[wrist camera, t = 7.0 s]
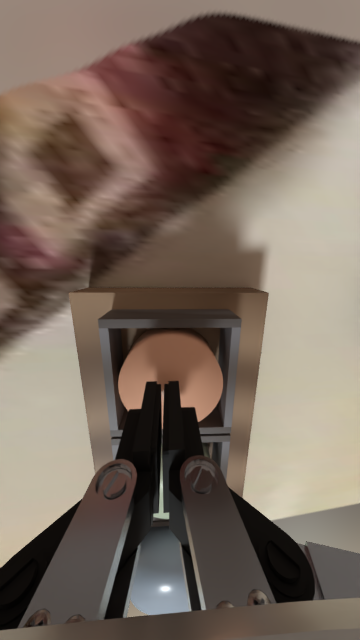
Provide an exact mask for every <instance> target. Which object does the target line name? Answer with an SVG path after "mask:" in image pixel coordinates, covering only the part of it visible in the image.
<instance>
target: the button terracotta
mask: <svg viewBox="0 0 360 640" xmlns="http://www.w3.org/2000/svg"><path fill="white" fill-rule="evenodd" d="M148 381H157V384H161V403H162V429H163V408H164V384H168V381H179V389H180V400H181V407H195V410H196V415H197V420H198V422H199V421H201V420H202V419H204V418H205V417H206V416H208V415H209V414H210V413H211V412H212V410H213V409H214V408H215V407H216V405H217V403H218V402H219V399H220V397H221V394H222V389H223V376H222V372H221V368H220V366H219V364H218V362H217V360H216V358H215V356H214V354H213V352H212V350H211V348H210V345H209V344H208V342H207V341H206V340H205V339H204V337H203V336H202V335H200V334H199V333H198V332H196V331H195V330H193V329H191V328H152V329H150V330H148V331H146V332H145V333H143V334H142V335H141V336H140V337H139V338H138V339H137V340H136V341H135V343H134V344H133V346H132V348H131V350H130V352H129V354H128V356H127V358H126V360H125V362H124V364H123V366H122V368H121V371H120V374H119V380H118V389H119V394H120V398H121V400H122V402H123V404H124V406H125V407H126V409H127V410H128V411H129V409H141V406H142V401H143V396H144V391H145V386H146V382H148Z"/></svg>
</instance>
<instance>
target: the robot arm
mask: <svg viewBox="0 0 360 640" xmlns="http://www.w3.org/2000/svg"><path fill="white" fill-rule="evenodd" d="M161 446H162V470H163V513H169V529H170V530H171V532H172V533H173V534H174V535H175V536H176V538H177V539H178V540H179V547H180V553H181V560H182V567H183V573H184V580H185V587H186V593H187V600H188V607H189V612H178V613H168V614H157V615H147V616H137V617H128V618H127V613H128V608H129V603H130V599H131V594H132V589H133V584H134V579H135V574H136V569H137V565H138V560H139V555H140V550H141V542H142V540H143V539H144V538H145V537H146V535H147V534H148V533H149V532H150V530H151V526H152V525H153V514H156V513H159V499H160V472H161ZM0 640H360V554H359V553H354V552H351V551H346V550H342V549H338V548H333V547H329V546H325V545H320V544H316V543H312V542H307V541H306V544H305V545H302V544H298V543H296V542H295V541H294V540H293V539H292V538H291V537H290V536H289V535H288V534H286V533H285V532H284V531H283V530H281V529H280V528H279V527H278V526H276V525H275V524H274V523H273V522H271V521H270V520H269V519H268V518H266V517H265V516H264V515H263V514H261V513H260V512H259V511H258V510H257V509H255V508H254V507H253V506H252V505H250V504H249V503H248V502H247V501H245V500H244V499H243V498H242V497H240V496H239V495H238V494H237V493H235V492H234V491H233V490H232V489H230V488H229V487H228V485H227V483H226V480H225V478H224V476H223V473H222V471H221V469H220V467H219V466H218V464H217V463H216V462H215V461H214V460H212V459H211V458H209V457H206V456H204V451H203V445H202V440H201V435H200V430H199V425H198V420H197V415H196V410H195V407H181V400H180V389H179V381H168V384H164V408H163V437H162V403H161V384H157V381H148V382H146V386H145V391H144V396H143V401H142V406H141V409H129V411H128V414H127V418H126V422H125V425H124V429H123V432H122V436H121V440H120V443H119V447H118V450H117V454H116V457H115V460H113V461H110V462H108V463H107V464H105V465H103V466H102V467H101V468H100V469H99V470H98V471H97V473H96V474H95V476H94V477H93V479H92V481H91V483H90V485H89V487H88V489H87V491H86V493H85V495H84V497H83V499H81V500H80V501H79V502H78V503H77V504H75V505H74V506H73V507H72V508H71V509H69V510H68V511H67V512H66V513H65V514H63V515H62V516H61V517H60V518H59V519H57V520H56V521H55V522H54V523H53V524H51V525H50V526H49V527H48V528H47V529H45V530H44V531H43V532H42V533H40V534H39V535H38V536H37V537H36V538H34V539H33V540H32V541H31V542H30V543H28V544H27V545H26V546H25V547H24V548H22V549H21V550H20V551H19V552H18V553H16V554H15V555H14V556H13V557H12V558H11V559H10V560H9V561H8V562H7V563H6V564H5V565H4V566H3V567H1V568H0Z"/></svg>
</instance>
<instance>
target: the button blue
mask: <svg viewBox="0 0 360 640" xmlns="http://www.w3.org/2000/svg"><path fill="white" fill-rule="evenodd" d="M131 601H132V603H133V605H134V606H135V607H136V608H137V609H139V610H140V611H142V612H144V613H146V614H148V615H157V614H168V613H178V612H189V607H188V600H187V593H186V587H185V580H184V573H183V567H182V560H181V553H180V547H179V540H178V539H177V538H176V536H175V535H174V534H173V533H172V532H171V530H170V529H169V526H160V527H151V530H150V532H149V533H148V534H147V535H146V537H145V538H144V539H143V540H142V542H141V550H140V555H139V560H138V565H137V569H136V574H135V579H134V584H133V589H132V594H131Z"/></svg>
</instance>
